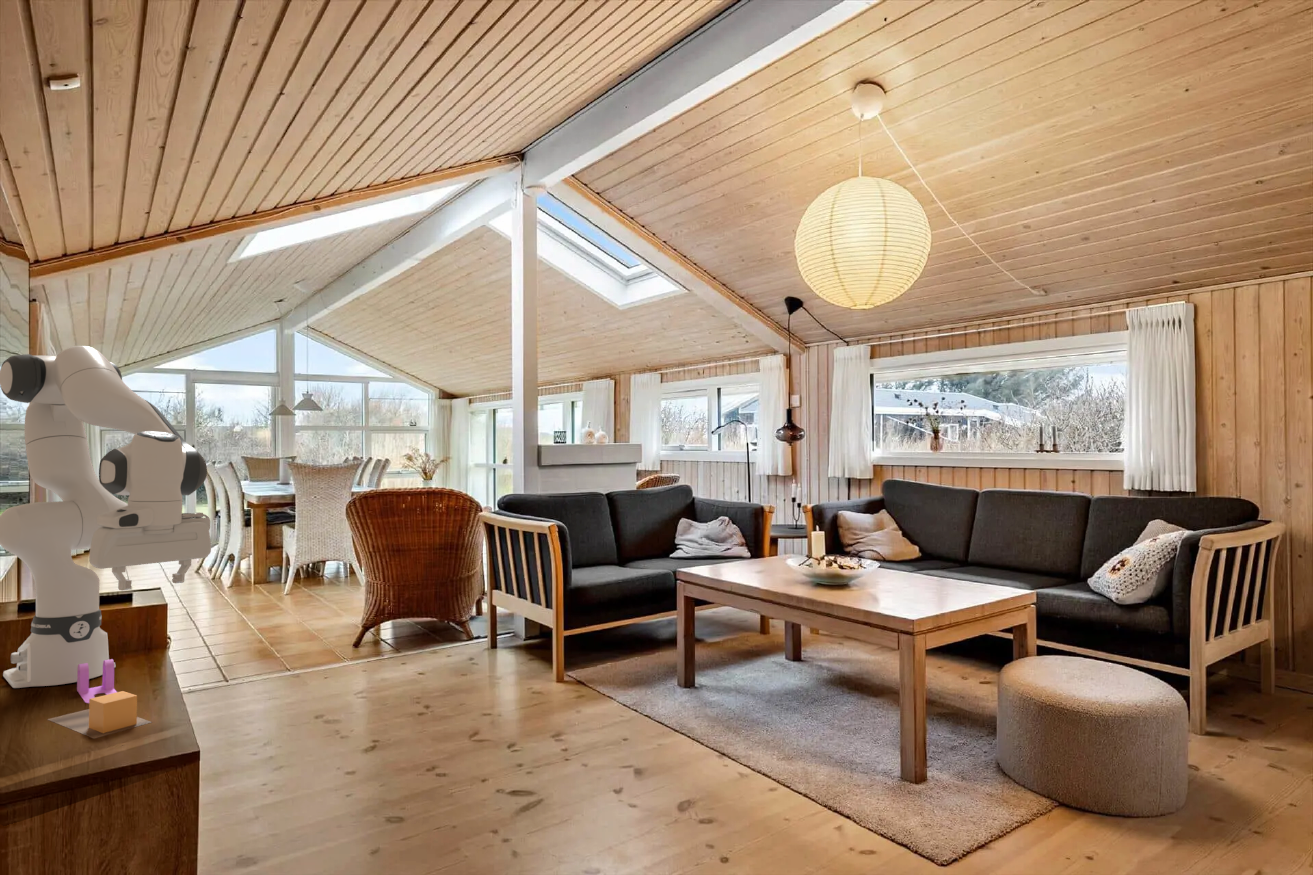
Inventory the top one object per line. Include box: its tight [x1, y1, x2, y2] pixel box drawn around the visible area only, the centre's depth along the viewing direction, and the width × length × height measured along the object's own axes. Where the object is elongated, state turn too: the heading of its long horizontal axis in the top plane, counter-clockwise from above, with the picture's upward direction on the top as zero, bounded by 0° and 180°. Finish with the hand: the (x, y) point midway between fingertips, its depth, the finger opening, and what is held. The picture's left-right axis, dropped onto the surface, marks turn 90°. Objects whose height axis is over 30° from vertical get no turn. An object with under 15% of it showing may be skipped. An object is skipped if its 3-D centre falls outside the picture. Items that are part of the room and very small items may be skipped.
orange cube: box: [88, 690, 138, 733], centre depth 132 cm, size 5×5×5 cm
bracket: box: [76, 658, 118, 704], centre depth 149 cm, size 13×6×7 cm, turn 45°
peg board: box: [46, 708, 153, 739], centre depth 134 cm, size 18×9×5 cm, turn 59°
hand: (152, 586), depth 145 cm, fingers open, 8 cm apart
